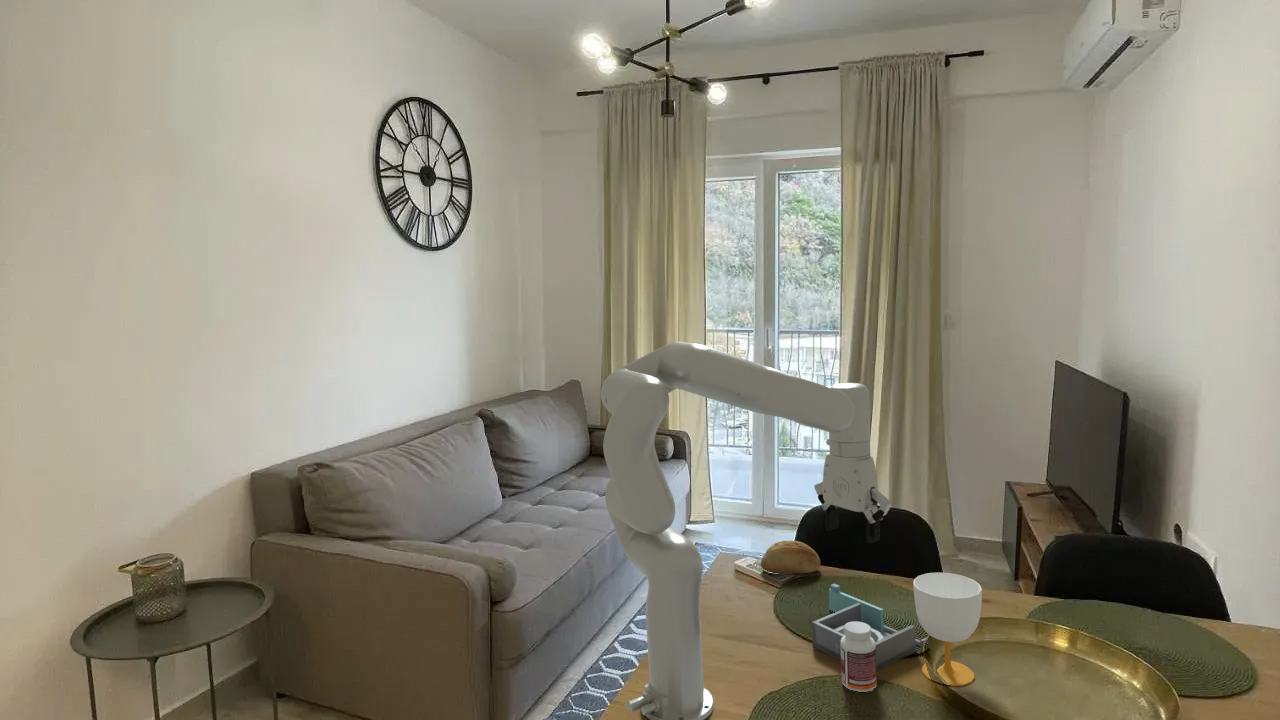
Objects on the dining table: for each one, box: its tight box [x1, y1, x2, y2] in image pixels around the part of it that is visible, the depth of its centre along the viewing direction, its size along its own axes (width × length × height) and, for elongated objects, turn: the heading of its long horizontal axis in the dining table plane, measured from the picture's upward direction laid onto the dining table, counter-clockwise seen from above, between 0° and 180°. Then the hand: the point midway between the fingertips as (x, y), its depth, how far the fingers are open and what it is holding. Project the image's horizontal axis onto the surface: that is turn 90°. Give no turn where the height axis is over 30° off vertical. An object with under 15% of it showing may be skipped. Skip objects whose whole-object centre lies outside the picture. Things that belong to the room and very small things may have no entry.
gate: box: [828, 583, 885, 632], centre depth 159 cm, size 1×14×6 cm, turn 34°
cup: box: [912, 572, 983, 687], centre depth 136 cm, size 12×12×17 cm
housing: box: [811, 603, 928, 672], centre depth 148 cm, size 17×16×5 cm
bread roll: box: [760, 540, 821, 575], centre depth 187 cm, size 10×15×8 cm, turn 87°
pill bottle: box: [840, 621, 878, 693], centre depth 134 cm, size 6×6×11 cm
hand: (852, 535), depth 143 cm, fingers open, 9 cm apart
